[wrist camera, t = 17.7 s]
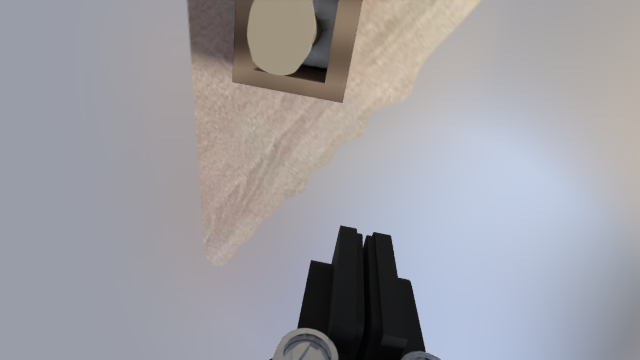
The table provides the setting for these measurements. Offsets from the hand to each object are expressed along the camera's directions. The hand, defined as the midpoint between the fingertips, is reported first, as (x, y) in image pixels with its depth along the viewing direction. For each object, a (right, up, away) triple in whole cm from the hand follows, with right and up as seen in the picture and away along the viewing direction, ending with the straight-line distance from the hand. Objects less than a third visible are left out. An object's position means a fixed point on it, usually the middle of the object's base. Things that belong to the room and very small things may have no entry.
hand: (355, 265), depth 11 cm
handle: (-3, +20, +27) cm, 34 cm away
